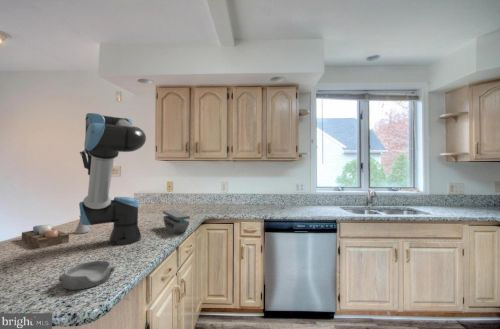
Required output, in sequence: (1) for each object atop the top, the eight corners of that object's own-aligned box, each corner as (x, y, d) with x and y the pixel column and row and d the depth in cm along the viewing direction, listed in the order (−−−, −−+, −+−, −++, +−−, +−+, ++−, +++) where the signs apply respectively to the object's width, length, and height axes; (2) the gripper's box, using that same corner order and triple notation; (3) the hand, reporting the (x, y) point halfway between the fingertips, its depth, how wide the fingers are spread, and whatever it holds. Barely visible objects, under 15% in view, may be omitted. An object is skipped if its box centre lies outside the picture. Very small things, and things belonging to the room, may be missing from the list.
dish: (119, 274, 90) (119, 261, 90) (88, 294, 76) (88, 278, 76) (85, 271, 92) (86, 257, 93) (49, 289, 79) (50, 273, 79)
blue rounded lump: (46, 235, 132) (46, 226, 133) (34, 237, 128) (35, 227, 128) (42, 233, 135) (43, 224, 135) (31, 235, 131) (31, 226, 131)
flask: (82, 234, 141) (82, 217, 141) (71, 233, 142) (72, 216, 142) (92, 231, 148) (93, 214, 148) (82, 230, 149) (83, 214, 150)
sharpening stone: (189, 234, 145) (189, 216, 145) (176, 236, 140) (176, 217, 140) (174, 225, 164) (174, 209, 165) (162, 227, 160) (163, 210, 160)
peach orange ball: (59, 240, 124) (59, 230, 124) (47, 242, 120) (47, 232, 120) (55, 238, 127) (55, 229, 127) (43, 241, 122) (43, 231, 123)
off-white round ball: (52, 234, 128) (53, 225, 128) (41, 237, 124) (41, 227, 124) (49, 233, 131) (49, 224, 131) (37, 235, 127) (37, 225, 127)
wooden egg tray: (68, 242, 126) (68, 234, 126) (39, 248, 116) (39, 240, 116) (49, 234, 139) (49, 227, 139) (21, 239, 129) (21, 232, 129)
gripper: (100, 141, 149) (99, 180, 149) (77, 139, 138) (76, 180, 138) (107, 141, 146) (106, 180, 145) (84, 138, 134) (83, 181, 134)
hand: (91, 180), depth 142 cm, fingers closed
